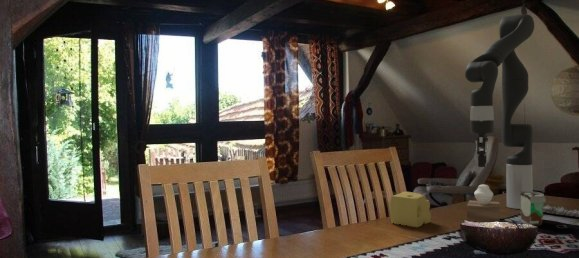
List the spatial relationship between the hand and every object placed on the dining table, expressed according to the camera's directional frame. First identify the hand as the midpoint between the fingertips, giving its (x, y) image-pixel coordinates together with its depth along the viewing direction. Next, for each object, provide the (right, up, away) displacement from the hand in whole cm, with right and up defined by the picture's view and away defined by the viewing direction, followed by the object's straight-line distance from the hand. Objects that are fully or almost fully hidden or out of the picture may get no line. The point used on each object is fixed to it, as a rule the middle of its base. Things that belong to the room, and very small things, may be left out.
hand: (482, 165), depth 154 cm
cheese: (-25, -20, 0) cm, 33 cm away
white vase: (0, -14, 0) cm, 14 cm away
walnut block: (+1, -20, 0) cm, 20 cm away
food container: (+16, -20, -4) cm, 26 cm away
